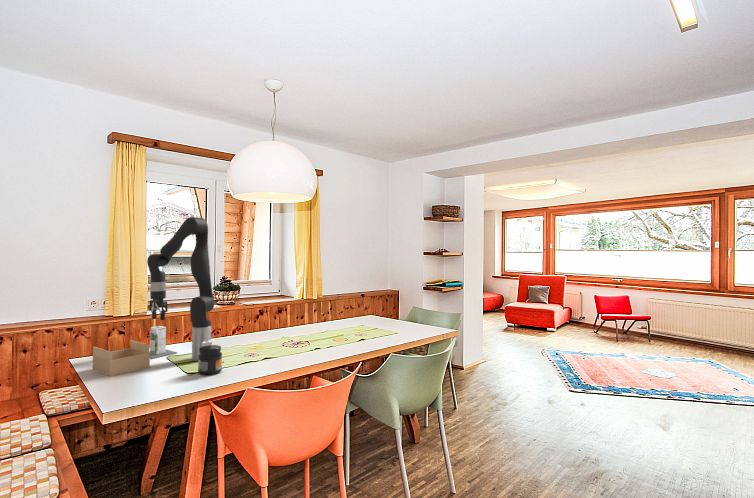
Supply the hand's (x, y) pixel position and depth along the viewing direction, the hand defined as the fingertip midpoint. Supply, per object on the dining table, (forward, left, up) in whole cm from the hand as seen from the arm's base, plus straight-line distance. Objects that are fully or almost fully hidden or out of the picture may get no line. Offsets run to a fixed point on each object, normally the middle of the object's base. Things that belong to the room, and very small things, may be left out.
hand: (158, 319), depth 220 cm
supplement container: (-53, +4, -19) cm, 57 cm away
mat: (0, 0, -19) cm, 19 cm away
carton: (-12, +24, -19) cm, 33 cm away
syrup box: (0, 0, -19) cm, 19 cm away
